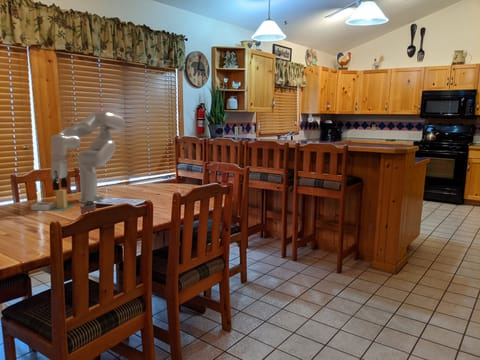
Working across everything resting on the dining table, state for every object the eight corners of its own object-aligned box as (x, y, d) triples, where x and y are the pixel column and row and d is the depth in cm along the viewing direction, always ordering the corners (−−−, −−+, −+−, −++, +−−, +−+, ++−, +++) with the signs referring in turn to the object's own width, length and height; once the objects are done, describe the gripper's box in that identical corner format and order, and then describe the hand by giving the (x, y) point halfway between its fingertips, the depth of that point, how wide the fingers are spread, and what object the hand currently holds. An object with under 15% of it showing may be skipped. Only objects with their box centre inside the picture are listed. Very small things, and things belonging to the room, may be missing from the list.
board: (74, 206, 216) (74, 200, 216) (63, 212, 203) (63, 206, 202) (43, 206, 216) (43, 200, 216) (30, 212, 202) (29, 205, 202)
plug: (67, 206, 212) (66, 189, 211) (64, 208, 208) (63, 190, 207) (58, 206, 212) (57, 189, 211) (55, 208, 208) (54, 190, 207)
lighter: (94, 217, 195) (93, 198, 194) (97, 218, 193) (97, 199, 191) (79, 220, 189) (78, 201, 187) (82, 221, 187) (82, 202, 185)
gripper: (59, 156, 214) (60, 186, 216) (44, 158, 197) (45, 190, 199) (73, 156, 214) (73, 186, 216) (58, 159, 197) (59, 191, 199)
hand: (60, 188), depth 208 cm, fingers open, 9 cm apart
